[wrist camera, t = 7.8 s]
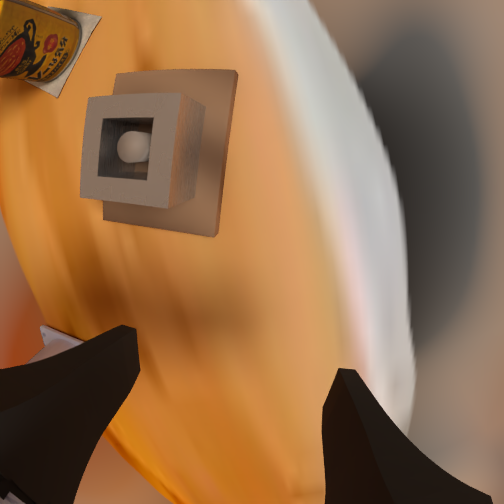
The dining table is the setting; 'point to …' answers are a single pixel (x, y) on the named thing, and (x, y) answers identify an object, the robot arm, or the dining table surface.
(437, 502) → the robot arm
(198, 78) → the block
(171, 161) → the block with square hole
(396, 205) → the dining table surface
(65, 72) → the condiment
